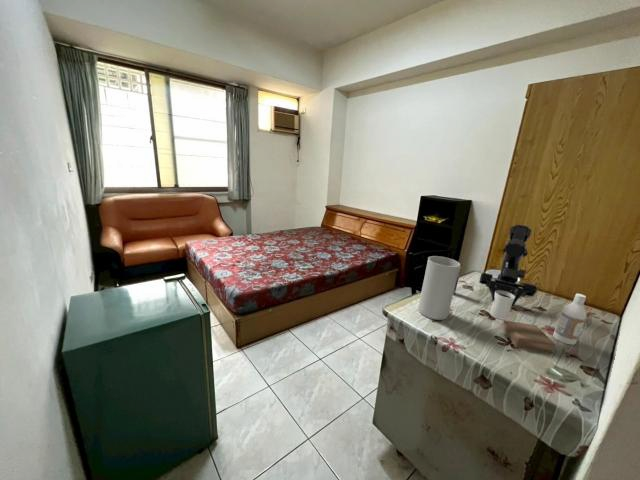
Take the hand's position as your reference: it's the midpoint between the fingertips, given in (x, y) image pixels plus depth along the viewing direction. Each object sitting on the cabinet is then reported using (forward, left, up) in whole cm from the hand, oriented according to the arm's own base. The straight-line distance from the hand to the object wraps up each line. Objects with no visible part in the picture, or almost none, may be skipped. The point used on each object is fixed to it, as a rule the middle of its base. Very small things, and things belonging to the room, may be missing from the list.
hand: (502, 303), depth 103 cm
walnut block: (+10, +2, -13) cm, 17 cm away
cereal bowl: (-1, +58, -14) cm, 60 cm away
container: (-22, +26, -13) cm, 37 cm away
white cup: (0, +1, -7) cm, 7 cm away
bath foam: (+23, +14, -13) cm, 30 cm away
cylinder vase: (-24, -3, -13) cm, 27 cm away
